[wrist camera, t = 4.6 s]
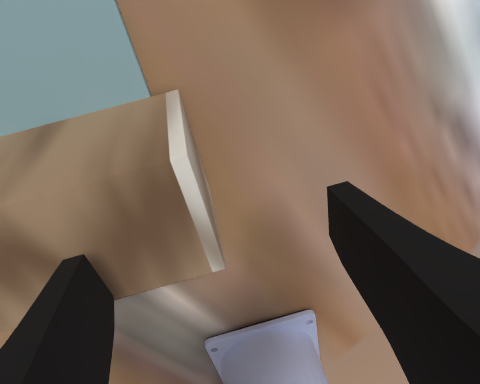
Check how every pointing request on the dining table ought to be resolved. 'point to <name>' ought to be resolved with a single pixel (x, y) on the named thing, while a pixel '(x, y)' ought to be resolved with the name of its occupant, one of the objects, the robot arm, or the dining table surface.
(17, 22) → the mat
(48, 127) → the walnut block
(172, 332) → the dining table surface
